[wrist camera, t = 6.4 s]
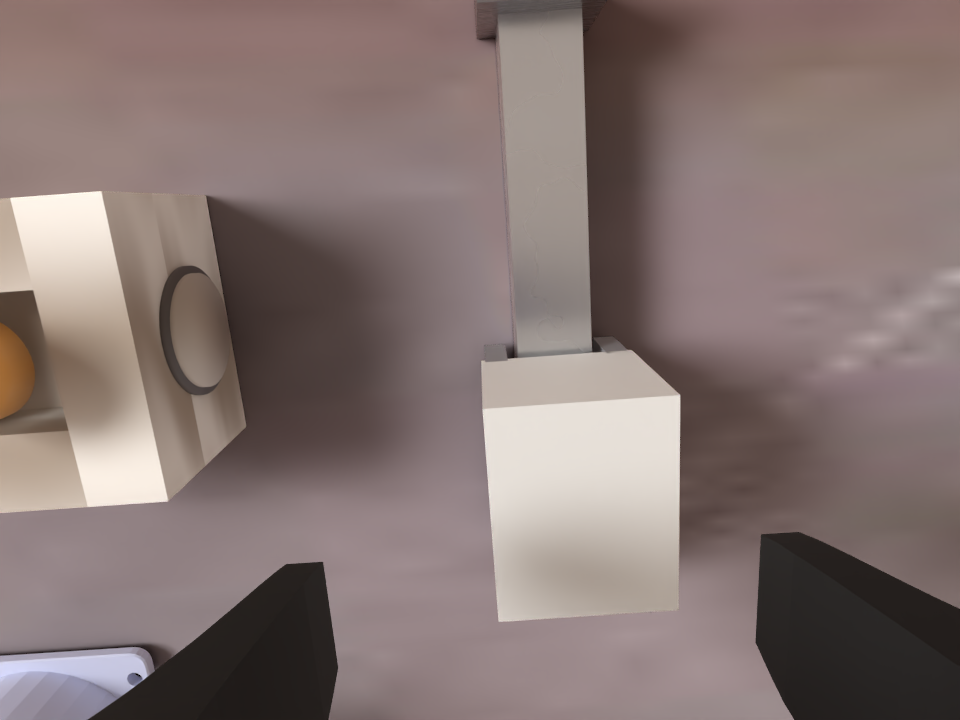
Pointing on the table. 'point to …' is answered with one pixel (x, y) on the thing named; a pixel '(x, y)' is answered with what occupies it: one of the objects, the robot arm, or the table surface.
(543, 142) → the rail
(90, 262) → the cream cage with ball
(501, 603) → the block
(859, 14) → the table surface
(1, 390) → the plunger
